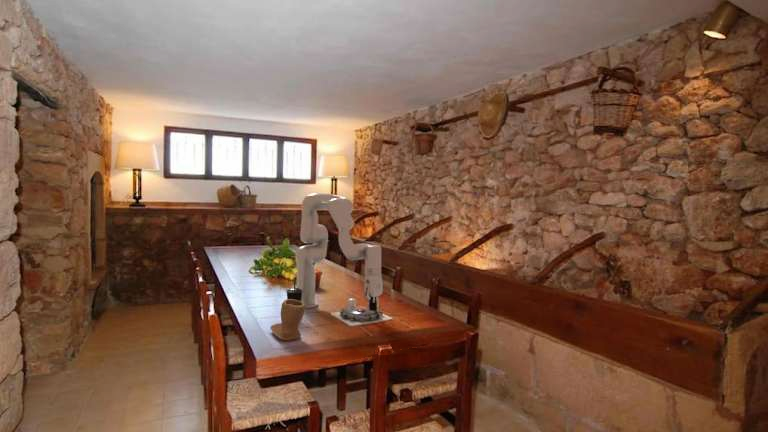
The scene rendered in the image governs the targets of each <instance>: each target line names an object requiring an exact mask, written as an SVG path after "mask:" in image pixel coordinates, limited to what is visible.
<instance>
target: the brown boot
mask: <svg viewBox="0 0 768 432" xmlns="http://www.w3.org/2000/svg"><path fill="white" fill-rule="evenodd" d="M305 310H306V308H305V304H304V303H303V302H301V301H297V300H293V299H287V298H286V299H285V300H283V301H282V303H281V308H280V318H281V319H280V320H281V322H280V323H275V324H272V325H270V330H271V331H272V333H273V334H274V335H275V336H276V337H277V338H278V339H280V340H282V341H283V340H284V341H290V340H297V339H299V338H301V336H302V334H301V332H300V331H299V326H300V325H301V322H302V319H303V317H304V314H305V313H306V312H305Z"/></svg>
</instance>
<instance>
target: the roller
mask: <svg viewBox="0 0 768 432" xmlns="http://www.w3.org/2000/svg"><path fill="white" fill-rule="evenodd" d="M349 306H357V298H354V297H350V298H348V299H347V308H348V307H349Z"/></svg>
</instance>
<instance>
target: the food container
mask: <svg viewBox="0 0 768 432" xmlns="http://www.w3.org/2000/svg"><path fill="white" fill-rule="evenodd" d="M295 274H296V275H297V271H296V272H295ZM322 275H323V272H322V271H321V270H320V269H318V268H317V269H316V268H315V291H316V290H318V289H320V284H321V278H322Z"/></svg>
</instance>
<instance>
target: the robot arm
mask: <svg viewBox="0 0 768 432" xmlns="http://www.w3.org/2000/svg"><path fill="white" fill-rule="evenodd" d="M318 211H328V213H329V214H330V216H331V218H332V220H333V222H334V223H335V225H336V227H337V229H338V236H337V237H338V238H337V239H338V240H337V241H338V245H339V247H340V250H341V251H342V253H343V255H344V256H345V258H346V259H347V260H349V261H350V262H351V261H353V262H354V261H355V262H356V261H359V260H360V261H361V260H364V262H365V263H364V273H365V277H364V285H363V287H364V289H363V290H364V291H363V292H364V293H363V294H364V296H365V300H366V301H368V306H369V310H370V311H376V310H377V299H379V296H381V295H382V294H383V292H384V290H383V289H384V288H383V287H384V286H383V275H382V247H381V245H379V244H369V243H365V242H362V243H354V242H353V240H352V238H351V235H350V232H351V231H350V230H352V228H354V226H355V221H354V219H353V217H352V215H351V214H352V213H353V211H354V204H353V201H352V200H350V199H349V198H347V197H343V196H340V195H337V194H334V193H319V192H318V193H310V194H307V195H306V196H305V197H304V198H303V200H302V202H301V222H300V232H299V234H300V236H299V237H300V240H301V242H302V243H305V244H306V245H302V246H300V247H297V249H296V251H295V262H296V272H297V274H296V288H299V289H302V290H303V292H302V299H301V302H303V303H304V304H305V309H311V308H316V307H317V306H318V305H319V304H318V301H316V290H315V269H316V268H315V267H314V263H318V262H319V263H320V262H322V261H324V259H325V258H326V257H327V250H328V243H329V242H328V239H329V232H328V229H327V227H326V226H325V225H324V224H320V223H319V214H318Z"/></svg>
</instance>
